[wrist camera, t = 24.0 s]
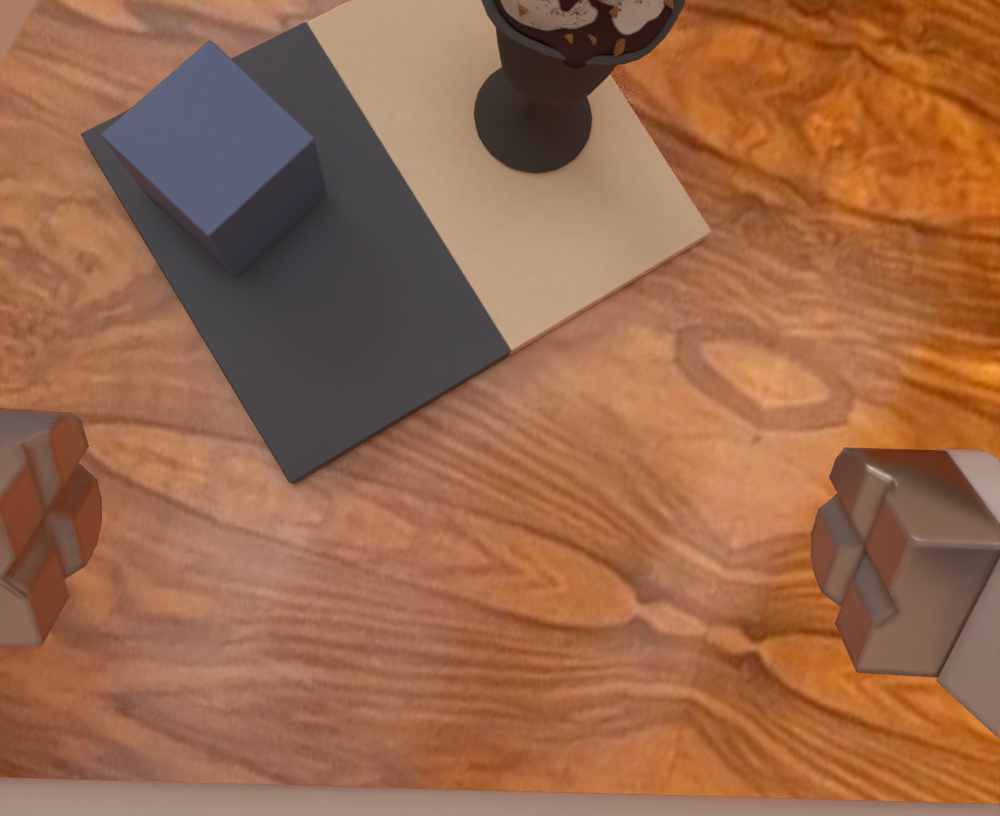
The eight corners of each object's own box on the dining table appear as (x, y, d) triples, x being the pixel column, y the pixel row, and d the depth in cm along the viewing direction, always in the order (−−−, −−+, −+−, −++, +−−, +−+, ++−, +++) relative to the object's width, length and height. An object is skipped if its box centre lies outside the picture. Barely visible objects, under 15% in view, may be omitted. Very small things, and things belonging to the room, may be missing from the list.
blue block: (143, 191, 34) (99, 134, 29) (237, 107, 35) (210, 38, 30) (236, 279, 34) (208, 237, 29) (327, 192, 35) (315, 138, 30)
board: (88, 144, 35) (79, 133, 34) (508, -66, 38) (510, -82, 37) (293, 484, 34) (290, 483, 33) (704, 239, 37) (712, 231, 36)
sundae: (439, 177, 35) (467, -75, 21) (469, 27, 36) (515, -315, 22) (597, 210, 36) (734, -12, 21) (621, 62, 37) (768, -249, 22)
